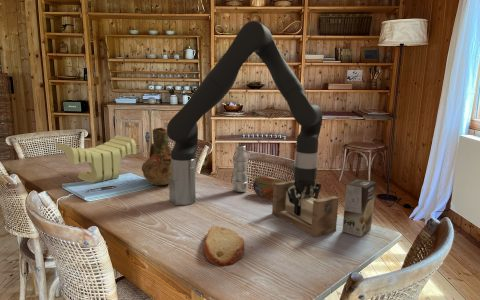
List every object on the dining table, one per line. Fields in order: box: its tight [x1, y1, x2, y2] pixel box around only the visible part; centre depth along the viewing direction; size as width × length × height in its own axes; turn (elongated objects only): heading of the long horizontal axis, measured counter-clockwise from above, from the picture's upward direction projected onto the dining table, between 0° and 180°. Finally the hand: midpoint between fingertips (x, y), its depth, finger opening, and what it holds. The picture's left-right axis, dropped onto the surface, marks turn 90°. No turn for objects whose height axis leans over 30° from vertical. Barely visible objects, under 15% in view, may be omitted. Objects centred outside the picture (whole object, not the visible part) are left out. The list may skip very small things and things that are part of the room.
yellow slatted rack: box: [55, 134, 137, 184], centre depth 168 cm, size 30×16×18 cm, turn 140°
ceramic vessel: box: [141, 127, 172, 186], centre depth 160 cm, size 17×26×25 cm, turn 32°
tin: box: [253, 175, 285, 200], centre depth 148 cm, size 15×3×8 cm, turn 56°
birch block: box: [285, 191, 318, 224], centre depth 123 cm, size 4×14×7 cm, turn 31°
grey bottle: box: [231, 144, 249, 193], centre depth 153 cm, size 6×7×20 cm
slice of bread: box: [202, 226, 246, 267], centre depth 104 cm, size 18×18×4 cm
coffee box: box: [342, 178, 377, 238], centre depth 117 cm, size 9×6×16 cm
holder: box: [271, 180, 340, 237], centre depth 123 cm, size 9×23×11 cm, turn 33°
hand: (302, 213), depth 124 cm, fingers closed on birch block, 4 cm apart
